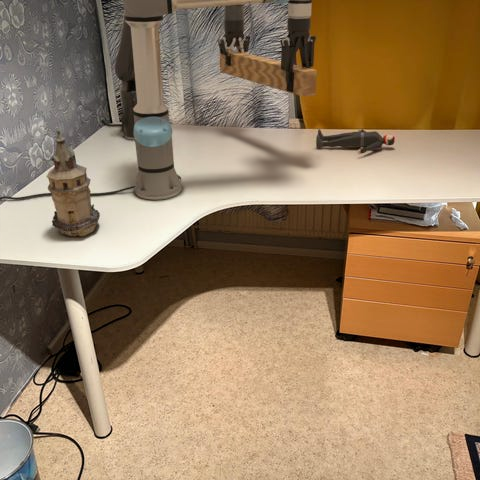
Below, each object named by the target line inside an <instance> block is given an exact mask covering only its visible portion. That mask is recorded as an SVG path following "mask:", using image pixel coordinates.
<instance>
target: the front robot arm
mask: <svg viewBox="0 0 480 480" xmlns="http://www.w3.org/2000/svg"><path fill="white" fill-rule="evenodd" d="M122 3H123V15H124V14H125V21H126V22H127V23H128V24H129V25H130V27H131V36H132V47H133V59H134V70H135V82H136V93H137V105H136V106H135V107H134V108H133V111H134V123H135V125H134V137H135V140H134V143H135V154H136V161H137V175H136V179H135V184H134V185H132V186H127V187H124V188H120V189H118V190H113V191H106V192H90V196H105V195H106V196H107V195H112V194H117V193H121V192H124V191H125V192H126V191H128V190H132V189H134V193H135V195H136V196H137V197H138V198H141V199H143V200H148V201H161V200H168V199H171V198H174V197H176V196H178V195H179V194H180V193H181V192H182V183H181V181H182V177H181V176H180V175H179V174H178V173H177V171H176V169H175V161H174V160H175V159H174V158H175V157H174V147H173V130H172V129H173V128H172V125H171V123H170V111H169V106H168V105H167V104H166V103H165V102H164V92H163V91H164V90H163V89H164V88H163V74H162V73H163V72H162V57H161V41H160V25H161V24H162V23H163V22H164V15H173V14H174V13H175V12H176V11H177V10H189V9H190V10H191V9H203V8H217V7H224V6H230V5H243V6H244V5H256V4H273V3H276V4H285V3H287V16H288V18H287V23H286V24H287V25H286V26H287V27H286V28H287V31H288V33H287V36H286V37H285V38H281V39H280V41H279V42H280V46H281V53H280V54H281V55H280V61H281V70H283V71H285V72H286V82H287V91H289V92H293V87H294V72H292V70H293V65H295V62H296V57H297V53H298V51H299V56H300V64H301V66H302V67H306V68H311V69H312V68H313V67H314V63H315V43H316V40H317V36H315V35H311V34H310V30H311V27H312V26H311V25H312V19H311V17H312V4H313V0H122ZM289 92H288V93H289ZM43 196H44V197H45V196H52V193H51V192H44V193H37V194H36V193H35V194H31V195H26V196H25V195H24V196H17V197H15V196H8V195H7V196H6V195H4V196H0V201H1V200H4V199H6V200H15V201H17V200H18V201H19V200H25V199H30V198H37V197H43ZM11 287H12V291H13V293H14V294H15V293H16V292H17V290H16V287H15V284H11Z"/></svg>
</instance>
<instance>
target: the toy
mask: <svg viewBox="0 0 480 480" xmlns="http://www.w3.org/2000/svg"><path fill="white" fill-rule="evenodd" d="M395 139H396V137H395V136H394V135H392V134H385V135H384V136H382V135H381V134H380V133H379V132H378V131H375V130H374V131H373V130H372V131H366V130H364V129H363V128H358V130H357V131H351V132H343V133H337V134H330V135H324V134H323V133H322V130H321V129H320V128H318V129H317V134H316V139H315V141H316V142H315V144H316V145H315V146H316V148H317V149H321V148H325V147H326V148H336V147H340V148H354V149H355V148H359V147H360V148H359V149H357V151H356V153H357V154H358V155H361V154H364V153H366V152H368V151H372V150H381V149H382V146H383V145H385V146H392V145H394V143H395V142H396V141H395Z"/></svg>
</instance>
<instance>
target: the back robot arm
mask: <svg viewBox="0 0 480 480" xmlns="http://www.w3.org/2000/svg"><path fill="white" fill-rule="evenodd" d="M223 7H224V8H223V23H224V24H223V30H224V36H223V37H221V38H218V39H217V43H218V48H219V54H220V53H221V54H223V55H225V63H226V65H227V66H231V56H230V55H231V51H232V50H234V48H236V49H237V51H239V52H243V53H248V52H249V49H250V42H251V36H250V35H247V34H245V33H244V32H245V8H244V4H243V5H230V6H223ZM113 69H114V74H115V76H116V78H118V80H120V81H121V85H120V88H119V97H120V105H121V112H122V113H121V114H120V119H121V123H108V122H107V121H106V120H105V119H104V118H103V119H101V121H100V122H101V123H104V124H105V125H106V126H108V127H121V131H122V135H123V138H125V139H127V140H131V141H135V137H134V125H135V123H134V111H133V108H134V107H135V106H136V105H137V93H136V82H135V70H134V59H133V47H132V36H131V27H130V25H129V24H128V23H127V22H126V21H125V14H124V13H123V17H122V25H121V32H120V40H119V45H118V50H117V53H116V57H115V62H114V67H113Z"/></svg>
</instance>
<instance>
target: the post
mask: <svg viewBox="0 0 480 480" xmlns="http://www.w3.org/2000/svg"><path fill="white" fill-rule="evenodd" d="M230 56H231V66H227V65H226V63H225V55H223V54H221V53H220V52H219V72H220V73H223V74H226V75H229V76H232V77H236V78H239V79H243V80H245V81H249V82H252V83H256V84H259V85H263V86H265V87H270V88H273V89H276V90H279V91H283V92H286V93H289V94H292V95H296V96H300V97H302V98H306V97H311V96H316V89H317V72H318V71H317V69H314V68H312V67H311V68H306V67H302V65H298V64H294V65H293V70H292V72H294V87H293V92H289V91H287V82H286V72H285V71H283V70H281V60H276V59H272V58H268V57H264V56H259V55H255V54H251V53H248V52H245V53H243V52H239V51H238V50H234V49H233V50H232V51H231V55H230Z"/></svg>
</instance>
